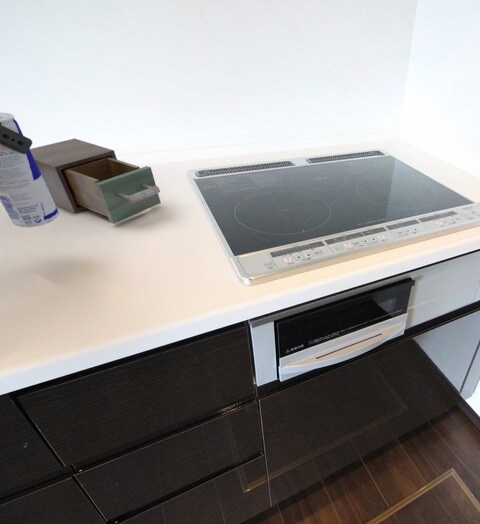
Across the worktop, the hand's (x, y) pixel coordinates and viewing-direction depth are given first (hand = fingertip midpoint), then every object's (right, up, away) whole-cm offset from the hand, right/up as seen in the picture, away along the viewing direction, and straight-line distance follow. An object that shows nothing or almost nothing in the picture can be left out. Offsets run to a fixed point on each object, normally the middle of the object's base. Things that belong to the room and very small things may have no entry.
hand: (15, 142), depth 49 cm
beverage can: (-1, -10, +5) cm, 12 cm away
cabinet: (-13, -2, +30) cm, 32 cm away
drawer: (0, -5, +24) cm, 25 cm away
